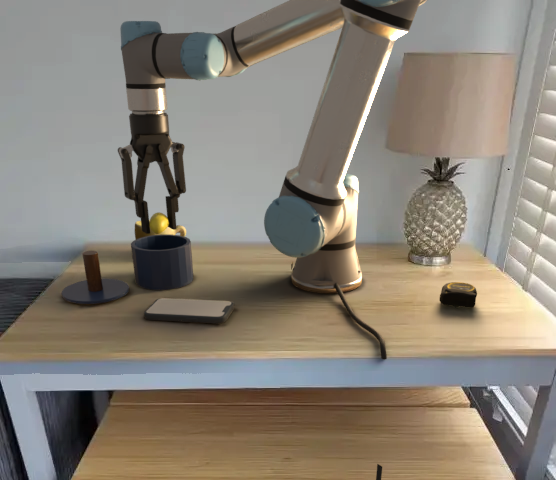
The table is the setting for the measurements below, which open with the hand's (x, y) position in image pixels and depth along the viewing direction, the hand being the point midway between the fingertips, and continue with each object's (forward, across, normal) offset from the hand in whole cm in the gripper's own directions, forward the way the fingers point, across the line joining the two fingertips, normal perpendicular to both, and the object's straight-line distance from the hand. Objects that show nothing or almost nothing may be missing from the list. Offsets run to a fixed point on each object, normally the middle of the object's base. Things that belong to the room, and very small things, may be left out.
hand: (159, 229), depth 130 cm
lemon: (0, 0, 0) cm, 1 cm away
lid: (+11, +16, 0) cm, 19 cm away
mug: (+11, -7, -17) cm, 22 cm away
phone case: (+11, +4, +21) cm, 24 cm away
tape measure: (+11, -42, +47) cm, 64 cm away
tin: (+11, 0, 0) cm, 11 cm away
